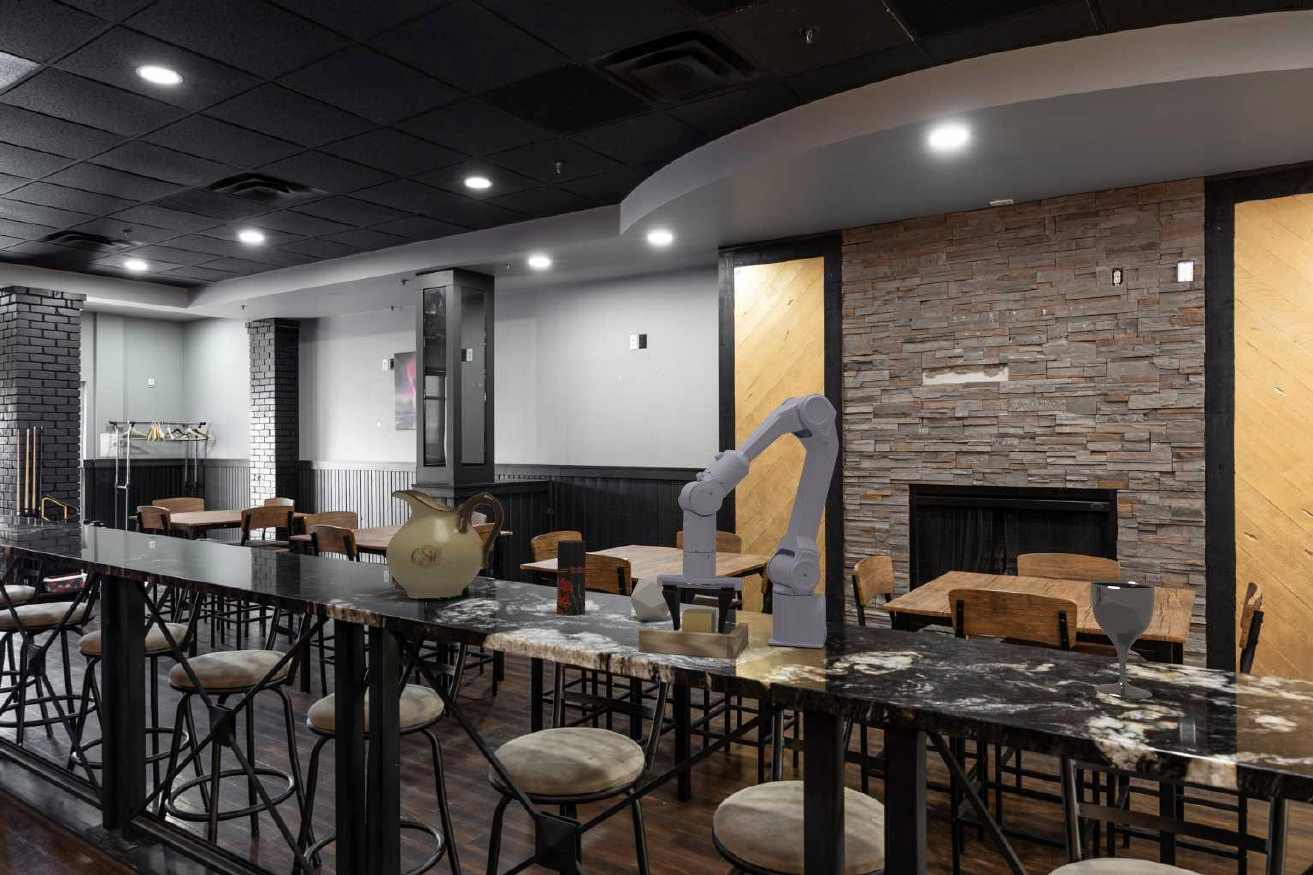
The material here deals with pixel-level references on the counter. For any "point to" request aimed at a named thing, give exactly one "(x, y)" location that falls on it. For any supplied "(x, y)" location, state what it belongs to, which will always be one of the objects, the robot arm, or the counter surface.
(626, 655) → the counter surface
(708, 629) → the block
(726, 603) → the robot arm
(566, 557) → the deodorant
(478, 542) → the pitcher
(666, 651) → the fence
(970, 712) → the counter surface
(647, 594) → the die
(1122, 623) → the wine glass
